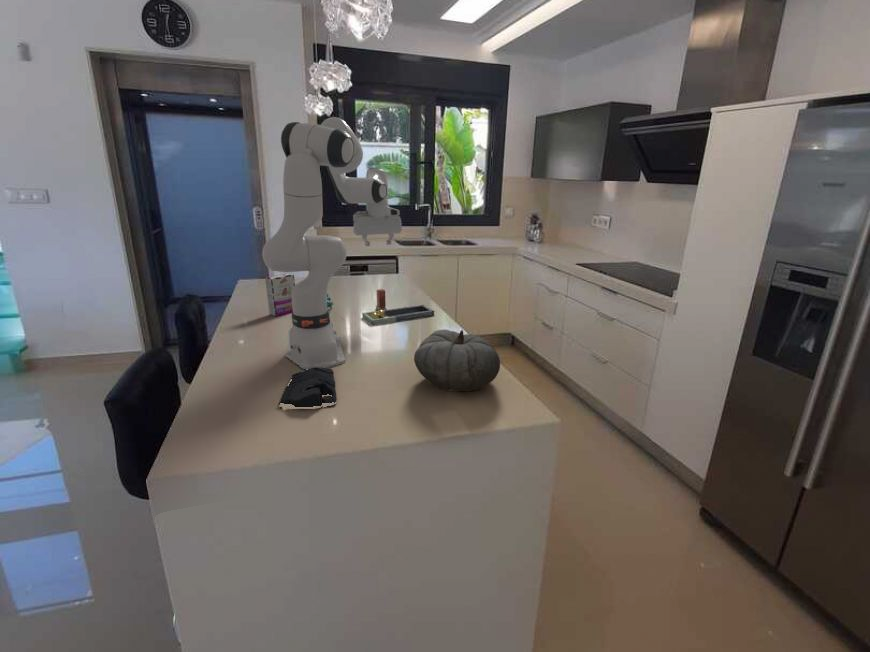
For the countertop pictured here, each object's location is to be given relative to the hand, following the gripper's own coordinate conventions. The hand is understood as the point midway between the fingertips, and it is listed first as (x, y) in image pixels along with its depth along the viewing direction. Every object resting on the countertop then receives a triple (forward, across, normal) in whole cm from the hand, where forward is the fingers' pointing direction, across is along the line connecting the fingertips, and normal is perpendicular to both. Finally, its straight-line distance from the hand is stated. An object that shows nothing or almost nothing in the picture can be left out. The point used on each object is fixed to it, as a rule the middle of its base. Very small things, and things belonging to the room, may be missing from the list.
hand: (378, 245), depth 188 cm
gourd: (+30, -6, -73) cm, 79 cm away
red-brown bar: (+29, +1, 0) cm, 29 cm away
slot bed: (+29, +9, -11) cm, 33 cm away
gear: (+30, -22, +15) cm, 40 cm away
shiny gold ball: (+28, -8, -11) cm, 32 cm away
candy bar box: (+29, -37, +18) cm, 51 cm away
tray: (+29, -4, -11) cm, 32 cm away
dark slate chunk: (+31, -45, -59) cm, 81 cm away
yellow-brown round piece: (+27, -4, -10) cm, 29 cm away
